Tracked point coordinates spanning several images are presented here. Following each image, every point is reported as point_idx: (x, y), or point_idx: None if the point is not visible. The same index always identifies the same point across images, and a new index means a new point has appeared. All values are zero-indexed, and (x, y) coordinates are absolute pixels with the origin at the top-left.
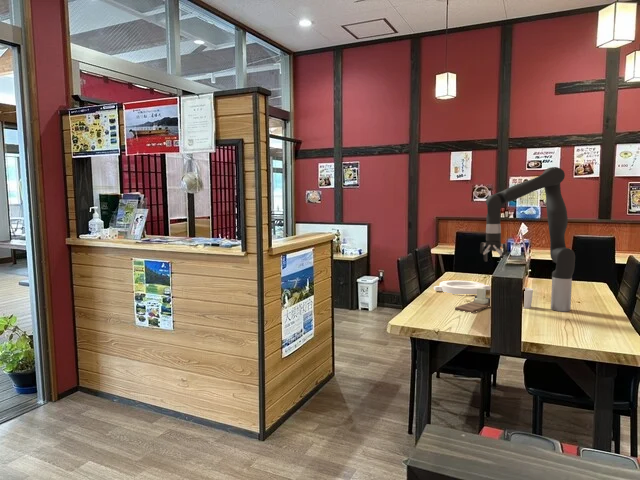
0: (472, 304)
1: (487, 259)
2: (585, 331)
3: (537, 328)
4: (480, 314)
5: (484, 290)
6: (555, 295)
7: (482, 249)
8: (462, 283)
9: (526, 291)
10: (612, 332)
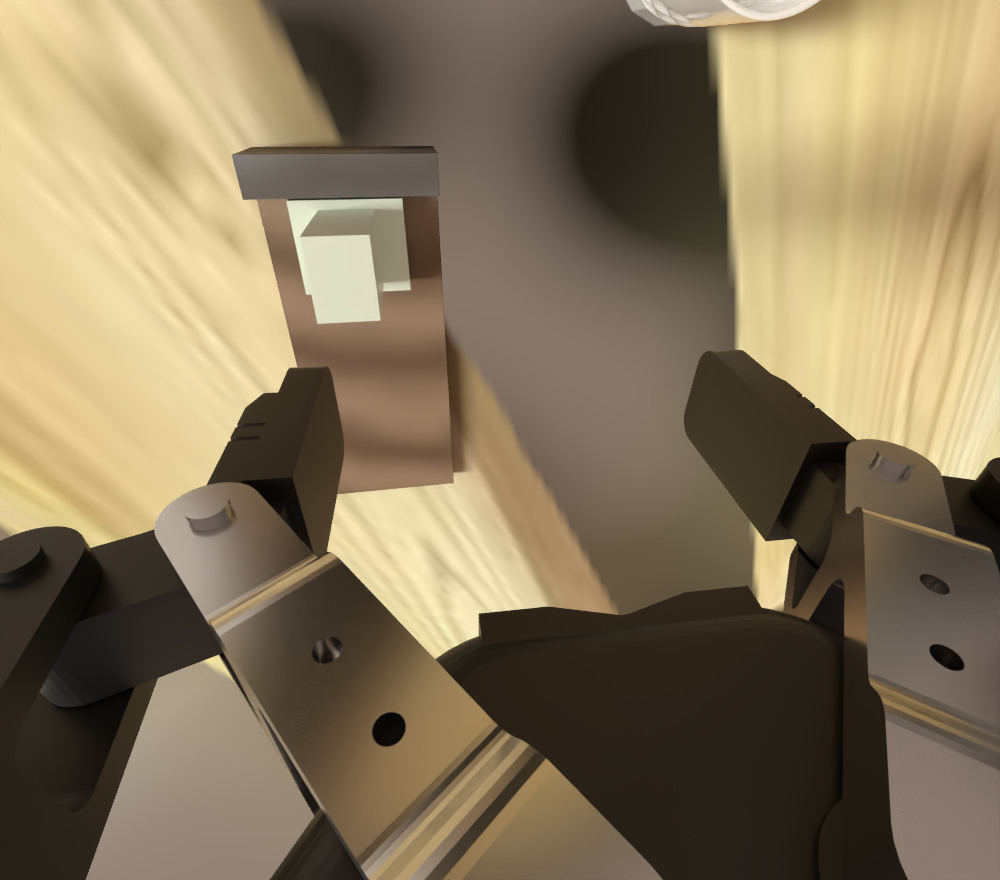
0: (345, 345)
1: (322, 386)
2: (996, 371)
3: None
4: (496, 460)
5: (375, 262)
6: None
7: (94, 792)
8: None
9: (808, 3)
10: None
